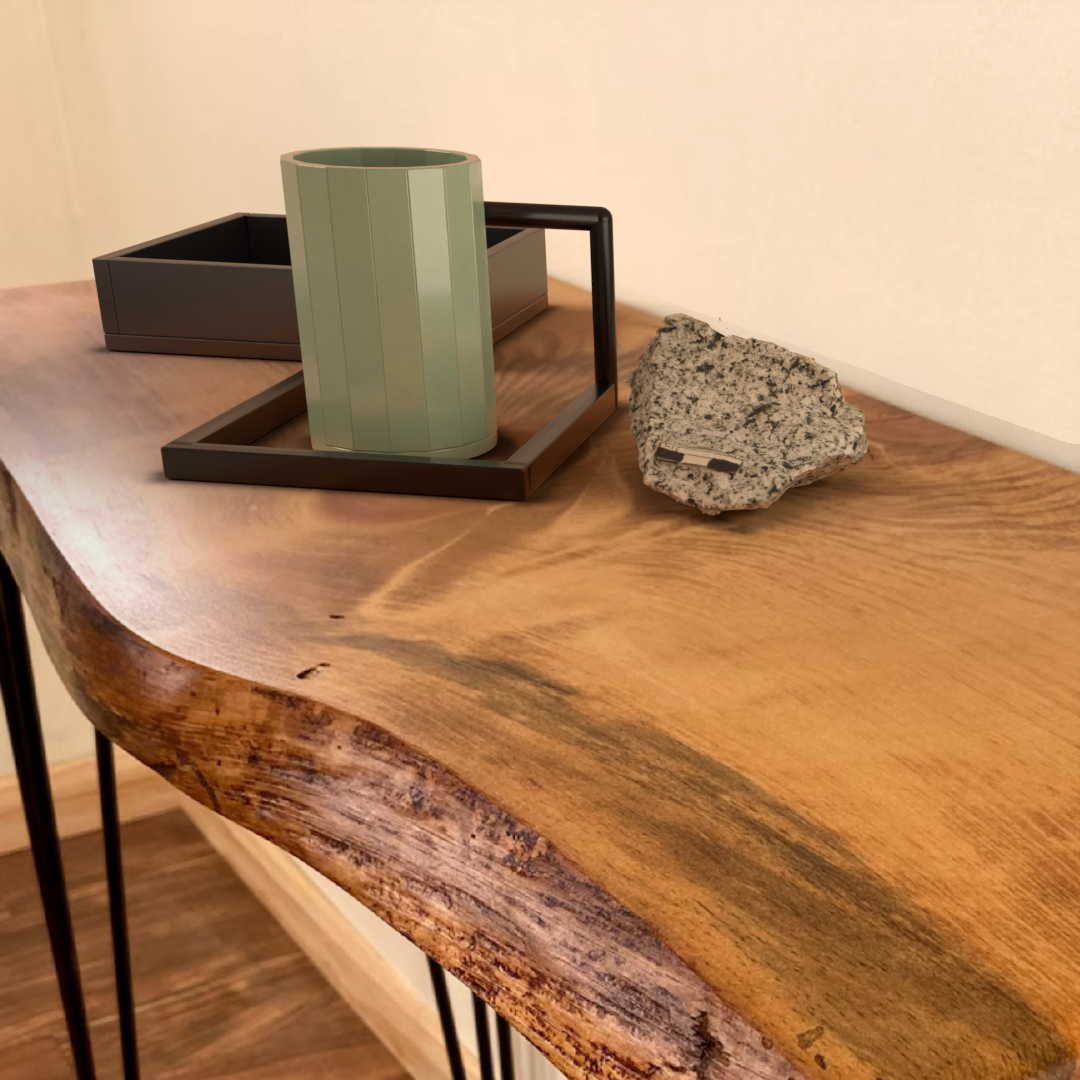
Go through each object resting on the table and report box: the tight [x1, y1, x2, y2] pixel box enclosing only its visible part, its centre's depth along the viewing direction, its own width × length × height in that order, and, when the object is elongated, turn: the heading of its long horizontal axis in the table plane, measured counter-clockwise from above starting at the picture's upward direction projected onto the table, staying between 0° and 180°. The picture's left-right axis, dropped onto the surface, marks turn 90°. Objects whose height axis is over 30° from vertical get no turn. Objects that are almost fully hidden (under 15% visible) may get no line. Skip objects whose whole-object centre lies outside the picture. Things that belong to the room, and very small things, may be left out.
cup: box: [279, 146, 499, 459], centre depth 70 cm, size 7×7×11 cm
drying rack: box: [160, 200, 619, 501], centre depth 72 cm, size 14×16×8 cm
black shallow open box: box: [91, 212, 549, 362], centre depth 92 cm, size 18×17×4 cm
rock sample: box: [621, 312, 874, 516], centre depth 67 cm, size 10×8×9 cm
